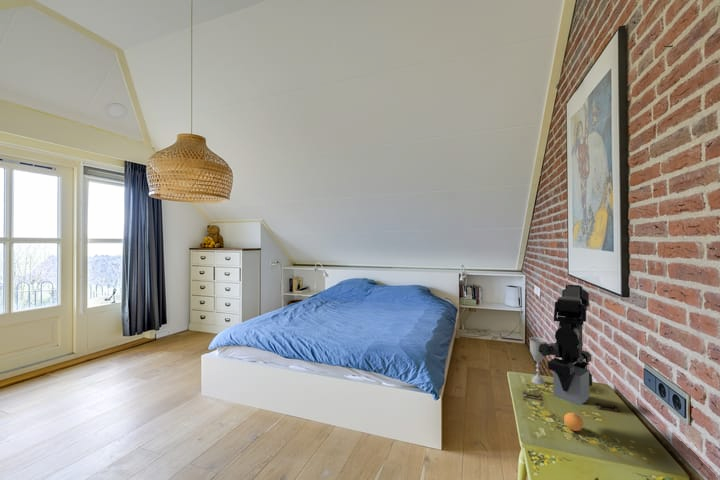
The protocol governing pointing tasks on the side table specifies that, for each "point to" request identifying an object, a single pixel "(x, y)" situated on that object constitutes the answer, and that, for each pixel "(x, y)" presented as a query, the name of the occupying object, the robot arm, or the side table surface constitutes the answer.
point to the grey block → (573, 387)
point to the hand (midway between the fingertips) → (570, 387)
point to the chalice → (537, 357)
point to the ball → (573, 421)
